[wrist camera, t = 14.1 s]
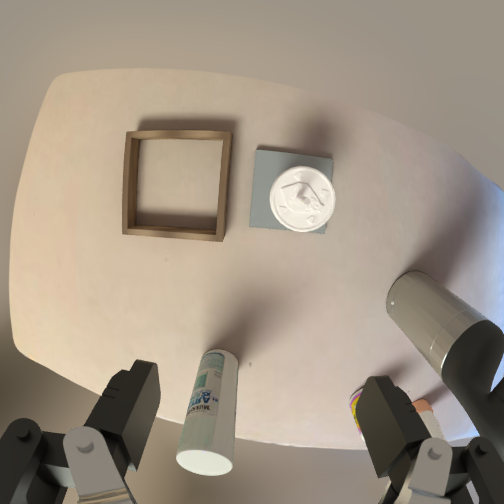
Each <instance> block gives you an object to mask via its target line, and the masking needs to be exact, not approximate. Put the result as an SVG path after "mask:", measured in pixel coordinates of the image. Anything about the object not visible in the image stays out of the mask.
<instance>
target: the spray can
mask: <svg viewBox="0 0 504 504" xmlns="http://www.w3.org/2000/svg"><path fill="white" fill-rule="evenodd" d="M238 368H239V366H238V361H237V359H236V357H235V356H234V355H233V354H231V353H230V352H228V351H226V350H221V349H214V350H210V351H208V352H206V353H205V354H204V356H203V357H202V359H201V362H200V366H199V369H198V373H197V377H196V381H195V384H194V388H193V392H192V396H191V399H190V403H189V407H188V411H187V415H186V419H185V423H184V427H183V430H182V434H181V438H180V442H179V446H178V450H177V454H176V459H177V462H178V463H179V464H180V465H181V466H182V467H183V468H185V469H187V470H189V471H191V472H194V473H197V474H202V475H221V474H225V473H227V472H229V471H230V470H231V469H232V467H233V459H234V439H235V421H236V403H237V385H238Z"/></svg>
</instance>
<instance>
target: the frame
mask: <svg viewBox="0 0 504 504" xmlns="http://www.w3.org/2000/svg"><path fill="white" fill-rule="evenodd" d="M147 139H197V140H223V147H222V159H221V171H220V184H219V198H218V212H217V228H216V230H206V229H193V228H179V227H165V226H150V225H136V196H137V173H138V157H139V145H140V140H147ZM231 145H232V133H231V132H227V131H201V130H156V131H131V132H126V142H125V154H124V169H123V194H122V234H126V235H139V236H152V237H165V238H178V239H191V240H203V241H216V242H222V241H223V239H224V236H225V221H226V207H227V194H228V181H229V168H230V157H231Z"/></svg>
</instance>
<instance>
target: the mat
mask: <svg viewBox="0 0 504 504" xmlns="http://www.w3.org/2000/svg"><path fill="white" fill-rule="evenodd" d="M332 165H333V159H330V158H323V157H316V156H309V155H302V154H294V153H285V152H276V151H266V150H256V155H255V166H254V178H253V189H252V201H251V212H250V224H249V227H256V228H268V229H279V230H290V231H294V230H291V229H289V228H287V227H285V226H284V225H283V224H281V223H280V222H279V221H278V219H277V218H276V217H275V215H274V213H273V211H272V210H271V205H270V191H271V188H272V185H273V183H274V182H275V180H276V179H277V177H278V176H279V175H280V174H282V173H283V172H284V171H286V170H288V169H290V168H292V167H297V166H306V167H311V168H314V169H317V170H319V171H320V172H322V173H323V174H324V175H325V176H326V177H327V178H328V179H329V180H330V182H331V175H332ZM325 226H326V223H325V224H324V225H322V226H321V227H319V228H317V229H315V230H312V231H308V232H311V233H321V234H325Z"/></svg>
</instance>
